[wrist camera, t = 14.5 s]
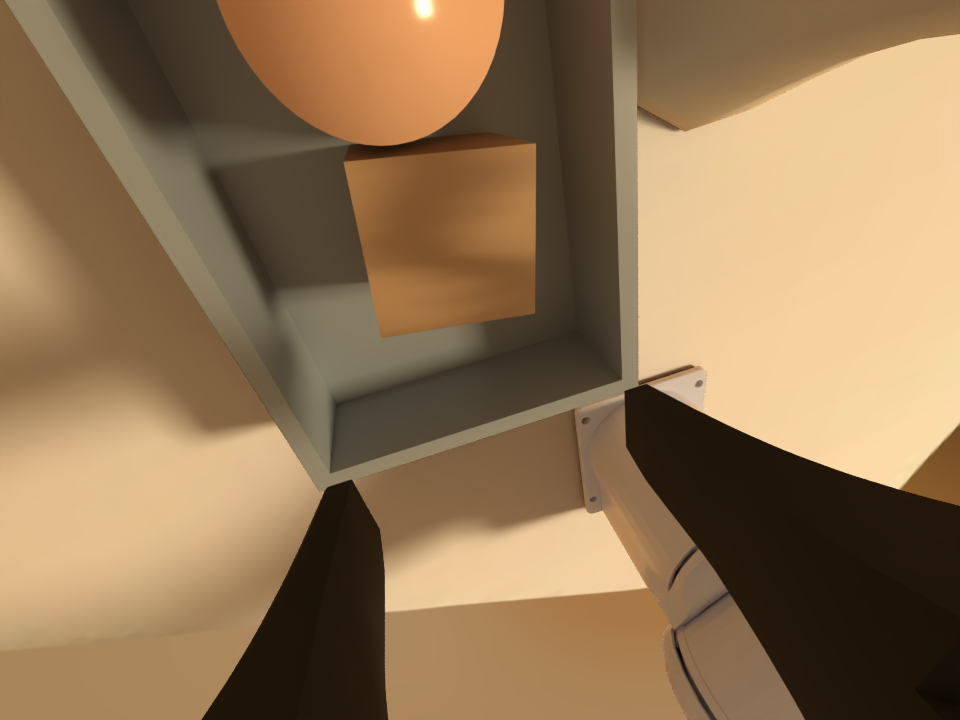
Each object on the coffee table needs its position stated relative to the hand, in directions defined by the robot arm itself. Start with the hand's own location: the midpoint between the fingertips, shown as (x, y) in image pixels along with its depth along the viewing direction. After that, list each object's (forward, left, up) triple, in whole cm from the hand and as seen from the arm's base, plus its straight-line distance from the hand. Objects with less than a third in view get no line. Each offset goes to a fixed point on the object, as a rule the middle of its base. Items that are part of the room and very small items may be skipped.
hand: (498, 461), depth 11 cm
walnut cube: (+2, 0, -7) cm, 7 cm away
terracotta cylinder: (+10, 0, -9) cm, 13 cm away
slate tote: (+5, 0, -10) cm, 11 cm away
